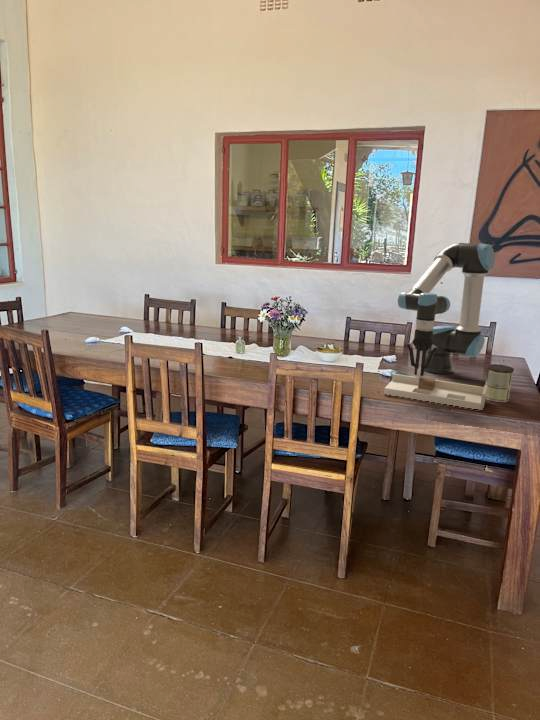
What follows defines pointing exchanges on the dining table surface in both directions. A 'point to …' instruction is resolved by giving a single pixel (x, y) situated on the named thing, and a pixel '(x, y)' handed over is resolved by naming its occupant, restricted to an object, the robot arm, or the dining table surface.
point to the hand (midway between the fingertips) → (418, 382)
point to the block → (426, 383)
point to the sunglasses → (399, 373)
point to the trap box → (438, 392)
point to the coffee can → (498, 382)
